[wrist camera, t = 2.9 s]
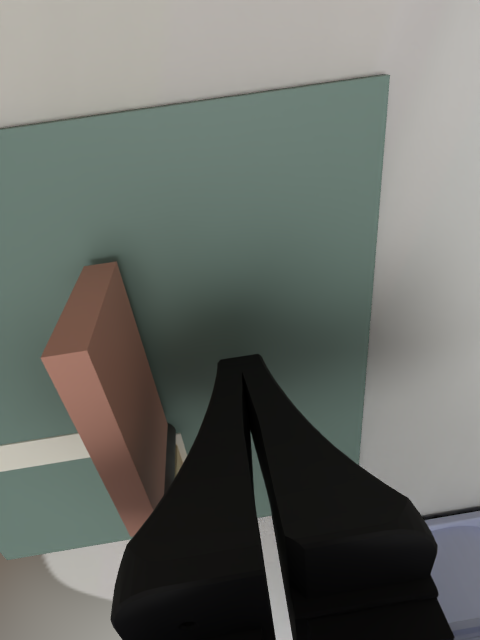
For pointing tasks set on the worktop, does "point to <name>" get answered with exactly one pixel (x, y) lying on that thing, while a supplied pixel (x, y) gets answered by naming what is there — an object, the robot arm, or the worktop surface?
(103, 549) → the worktop surface
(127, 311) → the gate panel
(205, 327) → the card
